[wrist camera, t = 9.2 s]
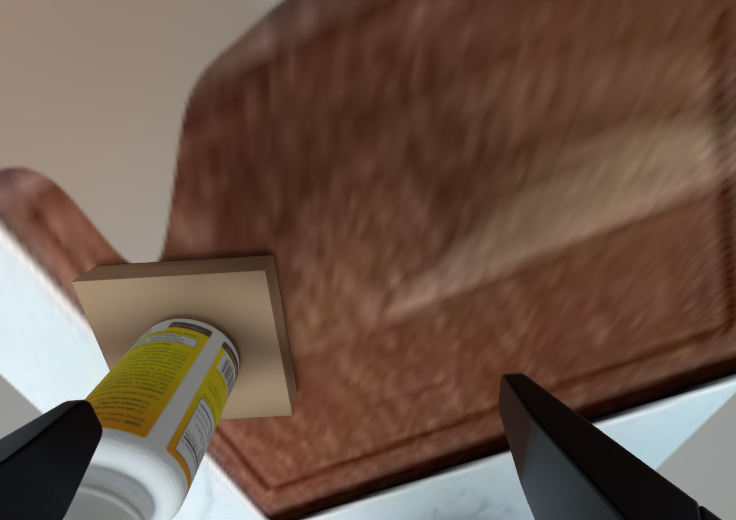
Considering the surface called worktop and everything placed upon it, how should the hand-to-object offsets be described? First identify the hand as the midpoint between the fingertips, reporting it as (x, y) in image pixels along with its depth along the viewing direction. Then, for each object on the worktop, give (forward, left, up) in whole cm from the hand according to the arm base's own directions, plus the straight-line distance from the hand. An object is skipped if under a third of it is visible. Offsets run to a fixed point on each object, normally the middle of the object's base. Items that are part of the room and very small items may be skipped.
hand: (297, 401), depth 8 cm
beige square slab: (-7, +9, -13) cm, 17 cm away
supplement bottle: (-7, +9, -11) cm, 16 cm away
